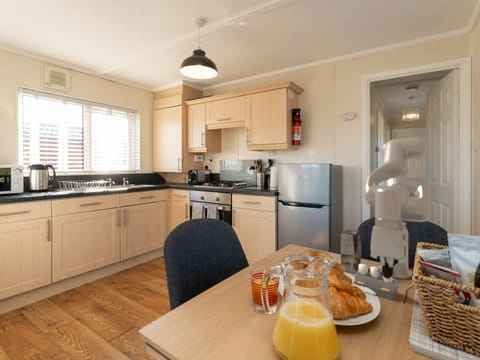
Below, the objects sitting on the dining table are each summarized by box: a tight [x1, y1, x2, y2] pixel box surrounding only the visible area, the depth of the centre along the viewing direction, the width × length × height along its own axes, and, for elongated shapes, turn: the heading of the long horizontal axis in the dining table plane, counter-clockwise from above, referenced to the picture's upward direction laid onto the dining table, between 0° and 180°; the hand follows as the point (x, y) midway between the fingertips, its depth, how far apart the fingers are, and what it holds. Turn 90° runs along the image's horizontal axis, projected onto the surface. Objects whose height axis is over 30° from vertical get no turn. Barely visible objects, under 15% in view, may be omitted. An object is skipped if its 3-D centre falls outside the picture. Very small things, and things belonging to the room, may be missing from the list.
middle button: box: [369, 266, 381, 280], centre depth 91 cm, size 3×3×4 cm
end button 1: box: [382, 274, 394, 283], centre depth 89 cm, size 3×3×4 cm
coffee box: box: [340, 229, 362, 274], centre depth 112 cm, size 9×6×16 cm
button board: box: [353, 270, 399, 301], centre depth 91 cm, size 7×12×5 cm, turn 46°
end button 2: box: [358, 263, 369, 276], centre depth 94 cm, size 3×3×4 cm
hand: (387, 276), depth 88 cm, fingers closed
